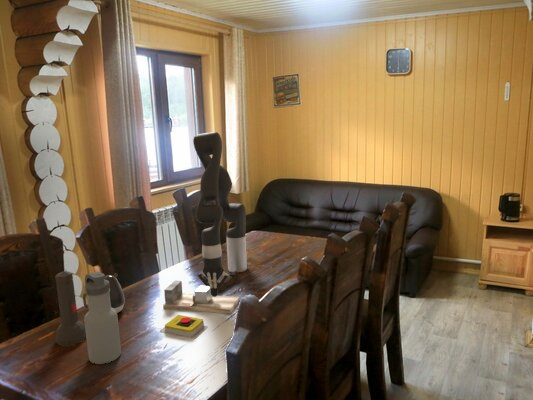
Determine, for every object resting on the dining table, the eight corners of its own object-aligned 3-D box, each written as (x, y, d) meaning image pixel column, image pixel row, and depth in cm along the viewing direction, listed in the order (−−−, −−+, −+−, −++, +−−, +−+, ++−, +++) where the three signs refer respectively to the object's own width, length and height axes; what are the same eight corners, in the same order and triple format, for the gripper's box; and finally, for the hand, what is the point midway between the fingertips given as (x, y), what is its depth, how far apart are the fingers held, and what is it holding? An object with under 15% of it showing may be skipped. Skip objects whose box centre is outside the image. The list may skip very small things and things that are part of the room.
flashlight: (49, 345, 148) (74, 348, 145) (40, 275, 143) (65, 277, 140) (70, 331, 157) (93, 334, 154) (61, 265, 152) (85, 267, 150)
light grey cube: (200, 296, 179) (200, 285, 178) (212, 297, 178) (211, 286, 177) (195, 303, 173) (194, 291, 172) (207, 303, 172) (206, 292, 171)
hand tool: (219, 295, 185) (218, 285, 184) (211, 293, 187) (211, 283, 186) (243, 280, 201) (243, 271, 200) (236, 279, 203) (236, 269, 202)
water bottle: (83, 356, 140) (73, 274, 134) (112, 345, 146) (103, 266, 141) (96, 369, 133) (86, 282, 127) (126, 356, 139) (118, 273, 134)
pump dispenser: (131, 307, 175) (127, 271, 172) (115, 319, 165) (111, 281, 162) (109, 305, 178) (105, 270, 175) (92, 316, 168) (88, 279, 165)
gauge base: (176, 296, 185) (174, 279, 183) (239, 300, 179) (238, 283, 177) (163, 308, 173) (162, 290, 172) (230, 313, 167) (229, 295, 166)
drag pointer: (198, 296, 179) (198, 289, 178) (200, 296, 179) (200, 290, 178) (189, 306, 170) (189, 299, 169) (192, 306, 170) (191, 299, 169)
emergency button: (194, 328, 148) (157, 321, 154) (195, 340, 149) (158, 333, 155) (208, 316, 157) (173, 310, 162) (208, 327, 157) (174, 321, 163)
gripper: (231, 252, 173) (233, 293, 176) (199, 251, 176) (202, 291, 179) (225, 258, 166) (227, 300, 169) (192, 257, 169) (195, 299, 172)
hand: (214, 295), depth 174 cm, fingers closed
